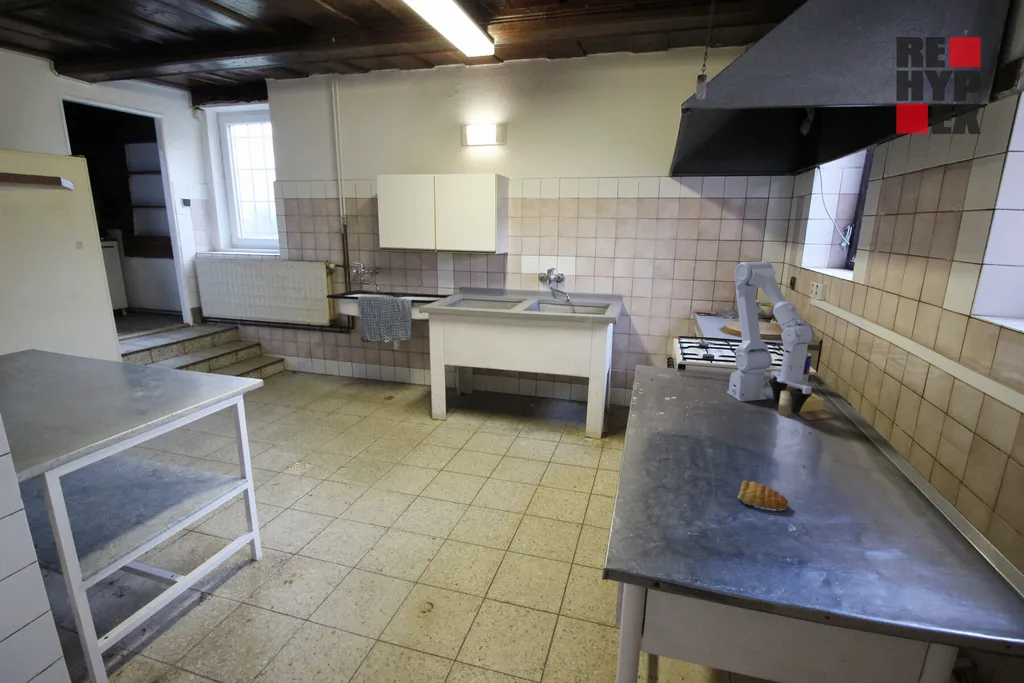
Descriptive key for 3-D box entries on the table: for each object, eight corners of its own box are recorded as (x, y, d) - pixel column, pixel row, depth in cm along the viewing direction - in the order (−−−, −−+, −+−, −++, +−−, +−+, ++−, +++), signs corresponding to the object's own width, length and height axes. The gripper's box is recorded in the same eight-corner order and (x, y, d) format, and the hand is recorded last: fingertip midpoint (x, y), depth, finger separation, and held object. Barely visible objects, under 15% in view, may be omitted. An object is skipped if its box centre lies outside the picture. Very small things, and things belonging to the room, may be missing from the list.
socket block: (798, 412, 147) (800, 401, 146) (780, 401, 155) (782, 391, 154) (822, 410, 148) (824, 399, 147) (803, 400, 156) (804, 389, 155)
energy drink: (809, 389, 167) (815, 356, 163) (793, 389, 167) (799, 356, 163) (801, 383, 172) (806, 351, 169) (785, 383, 172) (790, 351, 169)
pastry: (787, 501, 105) (790, 486, 104) (785, 518, 99) (788, 502, 98) (740, 489, 110) (742, 474, 109) (735, 504, 104) (737, 489, 103)
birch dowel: (783, 417, 145) (787, 395, 143) (774, 412, 149) (777, 390, 147) (795, 416, 146) (799, 394, 144) (786, 411, 150) (789, 390, 148)
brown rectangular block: (807, 420, 143) (810, 404, 142) (775, 401, 156) (777, 387, 155) (835, 418, 144) (838, 402, 143) (800, 400, 158) (803, 385, 156)
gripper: (764, 358, 149) (758, 399, 153) (798, 373, 135) (791, 418, 139) (785, 356, 150) (779, 397, 154) (821, 372, 137) (813, 416, 140)
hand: (786, 407), depth 147 cm, fingers open, 7 cm apart
